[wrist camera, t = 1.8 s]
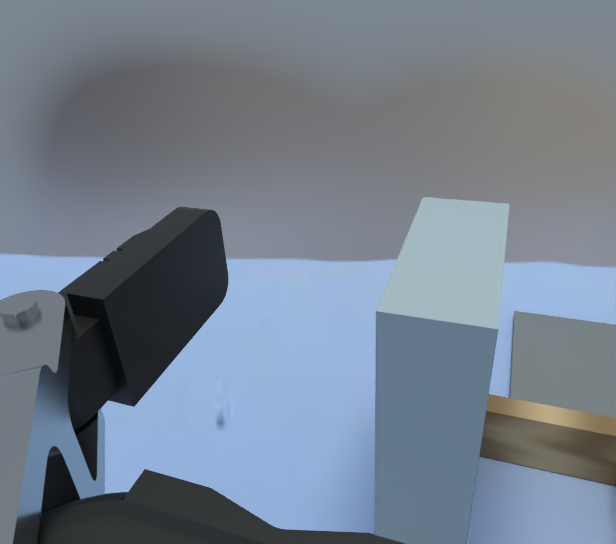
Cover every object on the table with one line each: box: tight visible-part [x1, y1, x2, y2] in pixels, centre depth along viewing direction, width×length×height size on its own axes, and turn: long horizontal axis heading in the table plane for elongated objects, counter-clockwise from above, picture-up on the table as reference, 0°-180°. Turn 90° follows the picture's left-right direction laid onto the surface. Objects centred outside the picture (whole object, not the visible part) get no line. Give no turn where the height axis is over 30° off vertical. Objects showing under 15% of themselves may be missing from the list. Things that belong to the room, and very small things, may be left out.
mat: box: [510, 311, 616, 418], centre depth 41 cm, size 12×12×1 cm
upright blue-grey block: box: [375, 197, 509, 544], centre depth 27 cm, size 4×10×18 cm, turn 161°
